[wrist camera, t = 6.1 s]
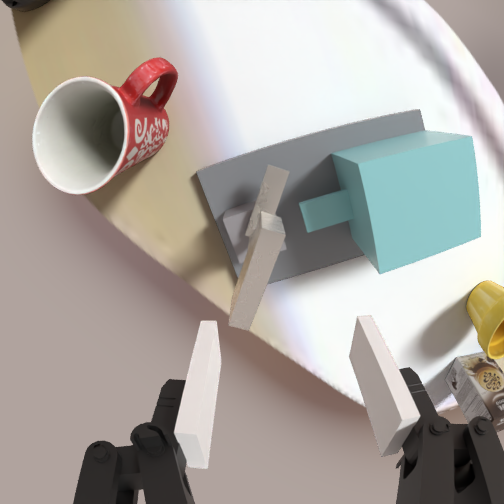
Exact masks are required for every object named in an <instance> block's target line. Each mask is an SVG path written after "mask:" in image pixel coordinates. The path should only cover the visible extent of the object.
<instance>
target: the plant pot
mask: <svg viewBox="0 0 504 504" xmlns="http://www.w3.org/2000/svg"><path fill="white" fill-rule="evenodd" d="M466 308H467V312H468V314H469V316H470V318H471V320H472V322H473V324H474V326H475V329H476V331H477V333H478V342H479V344H480V346H481V348H482V349H483V351H484V352H485V353H486V355H487V356H488V357H489V358H491V359H500V358H502V357H504V287H502V286H500V285H498V284H496V283H494V282H492V281H483V282H481V283H480V284H478V285H477V286H476V287H475V288H474V289H473V291H472V292H471V294H470V296H469V298H468V301H467V306H466Z"/></svg>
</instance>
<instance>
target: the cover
mask: <svg viewBox="0 0 504 504" xmlns="http://www.w3.org/2000/svg"><path fill="white" fill-rule="evenodd" d="M331 155H332V159H333V162H334V166H335V170H336V173H337V177H338V181H339V185H340V189H341V190H340V191H337V192H333V193H330V194H326V195H323V196H320V197H316V198H313V199H310V200H306V201H303V202H300V203H299V206H300V210H301V213H302V216H303V220H304V223H305V227H306V230H307V232H308V233H309V232H312V231H315V230H319V229H322V228H325V227H328V226H332V225H335V224H338V223H341V222H345V221H348V222H349V226H350V231H351V235H352V239H353V240H354V241H355V243H356V244H357V245H358V246H359V248H360V249H361V250H362V251H363V253H364V254H365V255H366V257H367V258H368V259H369V261H370V262H371V263H372V265H373V266H374V267H375V269H376V270H377V271H378V273H379V274H382V273H385V272H388V271H391V270H394V269H396V268H399V267H402V266H405V265H408V264H411V263H413V262H416V261H419V260H422V259H424V258H427V257H430V256H433V255H435V254H438V253H441V252H443V251H446V250H448V249H451V248H454V247H456V246H459V245H461V244H464V243H466V242H469V241H471V240H474V239H476V238H479V237H481V220H480V200H479V187H478V176H477V167H476V159H475V152H474V146H473V140H472V136H466V135H459V134H452V133H444V132H436V131H426V130H424V131H420V132H415V133H410V134H406V135H402V136H397V137H393V138H389V139H384V140H380V141H376V142H372V143H368V144H364V145H360V146H356V147H352V148H349V149H345V150H341V151H337V152H334V153H331Z"/></svg>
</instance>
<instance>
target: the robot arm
mask: <svg viewBox="0 0 504 504" xmlns="http://www.w3.org/2000/svg"><path fill="white" fill-rule="evenodd" d="M2 1H3V2H4V3H5V4H6V5H7V6H8V7H10V8H12V9H16V10H19V11H29V10H33V9H35V8H38V7H40V6H42V5H43V4H45V3H47V2H48V1H50V0H2ZM349 358H350V361H351V364H352V366H353V369H354V372H355V375H356V378H357V381H358V384H359V387H360V390H361V393H362V396H363V399H364V403H365V406H366V409H367V412H368V415H369V418H370V422H371V425H372V428H373V431H374V435H375V438H376V441H377V445H378V448H379V452H380V455H381V457H383V456H387V455H392V454H396V453H398V452H399V450H400V449H401V447H403V451H404V455H403V456H402V458H401V459H400V460H399V462H398V463H397V465H396V468H399V466H400V465H401V469H400V478H399V486H398V494H397V500H396V504H504V451H503V448H502V446H501V443H500V440H499V438H498V435H497V433H496V431H495V428H494V426H493V424H492V422H491V421H490V420H489V419H488V418H486V417H483V416H477V417H474V418H473V419H472V420H471V421H470V422H469V424H451V423H450V422H449V421H448V420H447V419H445V418H443V417H440V416H438V414H437V412H436V410H435V408H434V406H433V404H432V402H431V400H430V398H429V396H428V394H427V392H426V391H425V388H424V386H423V384H422V382H421V380H420V378H419V376H418V375H417V374H416V373H415V372H414V371H413V370H412V369H411V368H410V367H409V368H403V369H398V367H397V365H396V363H395V360H394V358H393V356H392V354H391V352H390V350H389V348H388V347H387V345H386V343H385V341H384V339H383V337H382V335H381V333H380V331H379V329H378V327H377V325H376V323H375V321H374V320H373V318H372V316H371V315H367V316H357V320H356V326H355V331H354V336H353V341H352V346H351V350H350V355H349ZM220 367H221V355H220V347H219V338H218V329H217V321H201V323H200V327H199V331H198V335H197V339H196V343H195V347H194V351H193V355H192V359H191V363H190V367H189V371H188V375H187V379H186V380H172V379H169V380H168V381H167V382H166V384H165V385H163V387H162V388H161V392H160V395H159V399H158V402H157V406H156V408H155V411H154V415H153V418H152V421H151V422H147V423H144V424H140V425H138V426H137V427H136V428H134V430H133V431H132V433H131V437H130V440H131V441H132V443H133V445H131V446H124V447H115V446H114V445H112V444H111V443H110V442H106V441H97V442H95V443H92V444H91V445H90V446H89V447H88V448H87V450H86V452H85V456H84V460H83V464H82V468H81V472H80V476H79V480H78V484H77V488H76V493H75V498H74V503H73V504H137V501H138V491H139V490H141V489H143V490H144V495H145V501H146V504H195V502H194V499H193V496H192V492H191V489H190V486H189V482H188V479H187V475H186V473H185V467H186V462H187V464H188V467H193V468H204V469H207V468H208V462H209V453H210V445H211V437H212V429H213V421H214V413H215V406H216V398H217V390H218V383H219V375H220Z"/></svg>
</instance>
